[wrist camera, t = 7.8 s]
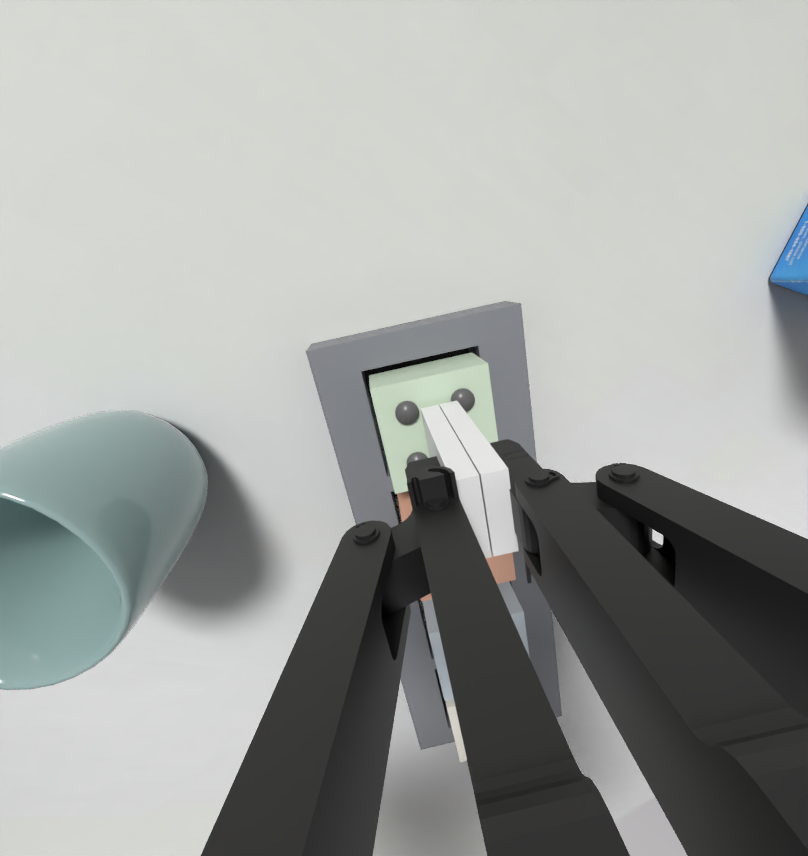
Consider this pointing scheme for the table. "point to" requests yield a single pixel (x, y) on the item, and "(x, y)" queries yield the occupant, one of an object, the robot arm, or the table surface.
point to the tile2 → (436, 642)
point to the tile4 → (428, 405)
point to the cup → (88, 537)
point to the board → (372, 485)
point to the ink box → (794, 260)
